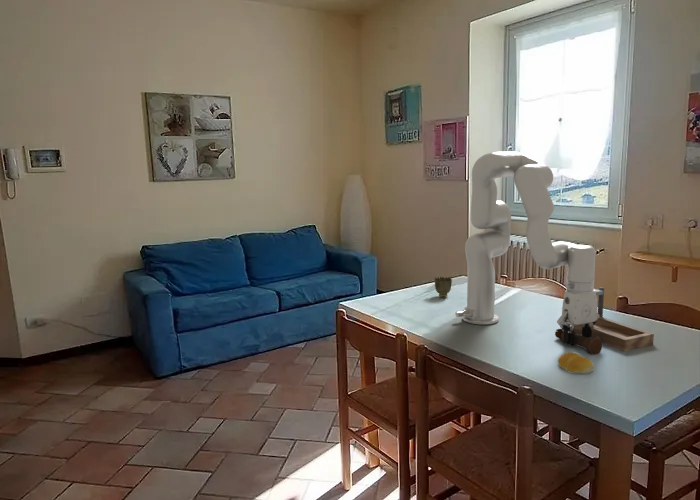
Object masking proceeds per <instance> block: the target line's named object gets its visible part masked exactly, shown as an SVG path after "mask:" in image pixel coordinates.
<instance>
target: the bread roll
mask: <svg viewBox="0 0 700 500" xmlns="http://www.w3.org/2000/svg"><path fill="white" fill-rule="evenodd" d="M557 363H558V365H559V367H560V368H561V369H563V370H564V371H567V372H568V373H571V374H575V375H588V374H591V373H592V372H593V370H594V363H593V361H592V360H591V359H589V358H586V357H583V356H582V355H580V354H579V353H576V352H573V351H570V352H565V353H563V354H562V355H561V356H559V357H558V360H557Z"/></svg>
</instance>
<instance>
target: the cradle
mask: <svg viewBox="0 0 700 500" xmlns="http://www.w3.org/2000/svg"><path fill="white" fill-rule="evenodd" d="M598 290H601V291H603V295H598V297H597V313H598V314H599V315H600V316H599V318H598V319H597V320H596V323H595V324H594V328H593V329H591V330H592V337H593V336H597V337H599V338H600V339H601V341H602V344H605V345H606V346H609V347H611V348H612V347H613V348H614V349H617V350H620V351H623V352H628V351H632V350H638V349H641V348H646V347H650V346H654V340H655V339H654V336H655V333H652V332H650V331H646V330H644V329H640V328H638V327H637V328H636V327H635V326H630V325H628V324H624V323H621V322H618V321H615V320H612V319H609V318H606V317H603V316H604V315H603V313H604V299H605V297H604V296H605V287H603V286H602V287H601V286H599V287H598ZM564 323H565V322H564ZM569 327H570V324H569V325H568V328H569ZM582 327H584V325H583V324H582V325H575V326H574V328H573V330H574V331H575V333H576V334H578V335H581V336H582Z"/></svg>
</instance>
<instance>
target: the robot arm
mask: <svg viewBox="0 0 700 500" xmlns="http://www.w3.org/2000/svg"><path fill="white" fill-rule="evenodd" d="M498 178H499V179H500V178H512V179H513V182H514V185H515V188H516V190H517V194H518V196H519V198H520V200H521V203H522V207H523V209H524V211H525V214H526V216H527V219H526V230H525V231H526V232H525V233H526V241H527V244H528V248H529V250H530V251H529V252H530V253H531V256H532V258H533V260H534V261H535V264H536V265H538V267H540V268H542V269H545V270H551V269H555V268H559V267H563V266H566V267H567V268H566V271H567V272H566V274H567V275H566V284H565V292H564V295H563V300H562V307H561V309H562V310H561V316H559V318H558V319H557V321H556V323H557V325H558V326H559V327H560V329H562V331H564V342H563V343H564V344H565V345H568V346H570V347H571V346H574V344H573V333H572V331H573V328H574V326H575V325H582V324H583V325H584V327H582V335H581V336H584V337H587V338H588V337H592V330H591V329H593V328H594V324H595V323H596V320H597V319H598V318H599V316H600V315H599V314H598V297H597V296H596V291H595V290H594V289H595V276H596V275H595V273H596V271H595V270H596V254H597V253H596V251H597V250H596V249H595V247H594V246H592V245H587V244H574V243H572V242H568V241H557V242H552V240H551V237H550V234H549V229H548V226H549V220H550V218H551V216H552V214H553V213H554V210H555V204H554V202H553V199H552V197H551V195H550V192H549V190H548V188H549V187H550V186H552V184H553V182H554V173H553V171H552V169H551V168H550V167H549V166H548V165H546V164H545V163H543V162H541V161H538V160H536V159H534V158H531V157H530V156H528V155H525V154H523V153H521V152H518V151H495V152H494V151H493V152H487V153H486V154H483V155H481V156H480V157H478V159H476V160H475V162H474V164H473V167H472V169H471V202H470V204H471V205H470V222H471V225H472V227H473V228H476V229H477V230H486V231H483V232H478V233H477V232H476V233H475V234H472V235H470V236H469V237H468V238H467V240H466V241H465V244H464V252H465V257H466V258H465V259H466V267H467V271H466V272H467V274H466V276H467V283H466V284H467V287H466V289H467V290H466V292H467V293H466V295H467V298H466V301H467V303H466V304H467V305H466V306H465V307H464V309H463V310H461V311H460V310H459V311H456V312H455V317H456V318H460V317H462V320H463V321H464V322H466V323H469V324H473V325H480V326H481V325H483V326H485V325H487V326H488V325H493V324H496V323H497V322H499V315H497V314H495V303H496V302H495V299H496V296H495V295H496V290H495V288H496V287H495V286H496V269H495V266H494V263H493V259H492V258H496V257H500V256H503V255H504V254H506V252H507V251H508V250H509V246H510V242H511V228H512V227H511V225H512V213H511V208H510V207H509V205H508V204H507V203H506V202H504V201H503V200H498V187H497V183H496V181H495V179H498ZM564 322H565V323H564ZM569 324H570V327H569V328H568V325H569Z"/></svg>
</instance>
